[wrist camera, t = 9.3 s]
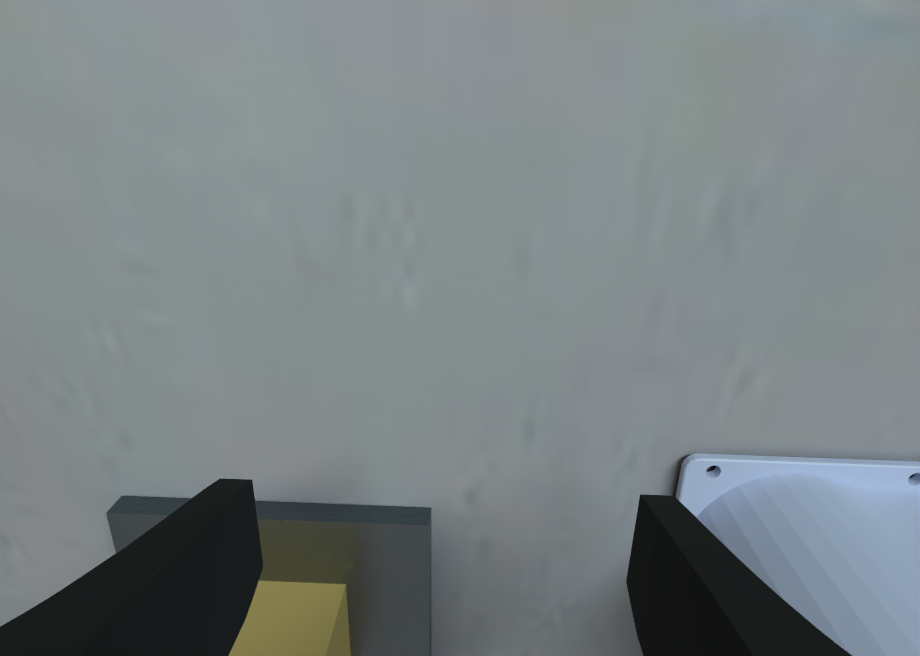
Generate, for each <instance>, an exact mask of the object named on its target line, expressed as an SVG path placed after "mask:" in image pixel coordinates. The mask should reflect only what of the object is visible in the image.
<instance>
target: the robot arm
mask: <svg viewBox="0 0 920 656" xmlns="http://www.w3.org/2000/svg"><path fill="white" fill-rule="evenodd" d="M714 465H715V466H716V468H715V469H714V470H712V471H706V470H707V468H709V467H710V466H714ZM914 473H915V475H914V476H913V477H911V478H909V477H910V476H911V475H913V474H914ZM262 569H263V559H262V551H261V544H260V536H259V528H258V521H257V513H256V506H255V498H254V491H253V483H252V480H242V479H219V480H217V481H216V482H214V483H213V484H211V485H210V486H208V487H207V488H206V489H204V490H203V491H201V492H200V493H199V494H197V495H196V496H194V497H193V498H192V499H190V500H189V501H188V502H186V503H185V504H184V505H182V506H181V507H180V508H178V509H177V510H176V511H174V512H173V513H172V514H170V515H169V516H167V517H166V518H165V519H163V520H162V521H161V522H159V523H158V524H157V525H155V526H154V527H152V528H151V529H150V530H148V531H147V532H145V533H144V534H143V535H141V536H140V537H139V538H137V539H136V540H134V541H133V542H132V543H130V544H129V545H128V546H126V547H125V548H123V549H122V550H121V551H119V552H118V553H116V554H115V555H113V556H112V557H110V558H109V559H107V560H106V561H104V562H103V563H101V564H100V565H98V566H97V567H95V568H94V569H92V570H91V571H89V572H88V573H86V574H85V575H83V576H82V577H80V578H79V579H77V580H76V581H74V582H73V583H71V584H70V585H68V586H67V587H65V588H64V589H62V590H61V591H59V592H58V593H56V594H54V595H53V596H51V597H50V598H48V599H47V600H45V601H43V602H42V603H40V604H38V605H37V606H35V607H33V608H32V609H30V610H28V611H27V612H25V613H23V614H22V615H20V616H18V617H16V618H15V619H13V620H11V621H9V622H8V623H6V624H4V625H3V626H1V627H0V656H229V654H230V651H231V649H232V647H233V645H234V643H235V641H236V639H237V637H238V635H239V632H240V630H241V628H242V626H243V624H244V622H245V619H246V617H247V614H248V611H249V608H250V605H251V602H252V600H253V597H254V594H255V591H256V588H257V584H258V581H259V578H260V575H261V572H262ZM626 582H627V587H628V592H629V597H630V602H631V607H632V613H633V617H634V622H635V627H636V631H637V636H638V639H639V642H640V646H641V649H642V652H643V655H644V656H920V462H917V461H890V460H862V459H834V458H806V457H778V456H751V455H723V454H692V455H690V456H688V457H687V458H686V459H684V460H683V463H682V465H681V471H680V476H679V481H678V487H677V492H676V497H675V496H664V495H640V499H639V506H638V512H637V518H636V524H635V531H634V537H633V543H632V549H631V556H630V562H629V568H628V575H627V581H626Z"/></svg>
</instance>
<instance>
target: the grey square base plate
mask: <svg viewBox="0 0 920 656" xmlns="http://www.w3.org/2000/svg"><path fill="white" fill-rule="evenodd" d="M189 500H190V498H164V497H138V496H121V497H120V498H119V500H118V501H117V502H116V503H115V504H114V505H113V506H112V507H111V508H110V509H109V510H108V512H107V513H106V514H107V518H108V522H109V526H110V530H111V534H112V538H113V542H114V546H115V550H116V553H118V552H119V551H121V550H122V549H123V548H125V547H126V546H128V545H129V544H130V543H132V542H133V541H134V540H136V539H137V538H139V537H140V536H141V535H143V534H144V533H145V532H147V531H148V530H150V529H151V528H152V527H154V526H155V525H157V524H158V523H159V522H161V521H162V520H163V519H165V518H166V517H167V516H169V515H170V514H172V513H173V512H174V511H176V510H177V509H178V508H180V507H181V506H182V505H184V504H185V503H186V502H188V501H189ZM255 506H256V513H257V521H258V528H259V536H260V544H261V551H262V559H263V569H262V572H261V575H260V578H259V581H279V582H303V583H327V584H346V594H347V609H348V624H349V638H350V653H351V656H431V508H421V507H396V506H370V505H344V504H318V503H293V502H267V501H255Z"/></svg>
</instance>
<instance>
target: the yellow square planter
mask: <svg viewBox="0 0 920 656" xmlns="http://www.w3.org/2000/svg"><path fill="white" fill-rule="evenodd" d="M229 656H351V653H350V638H349V624H348V609H347V594H346V584H327V583H303V582H279V581H258V584H257V588H256V591H255V594H254V597H253V600H252V602H251V605H250V608H249V611H248V614H247V617H246V619H245V622H244V624H243V626H242V628H241V630H240V632H239V635H238V637H237V639H236V641H235V643H234V645H233V647H232V649H231V651H230V654H229Z"/></svg>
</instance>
